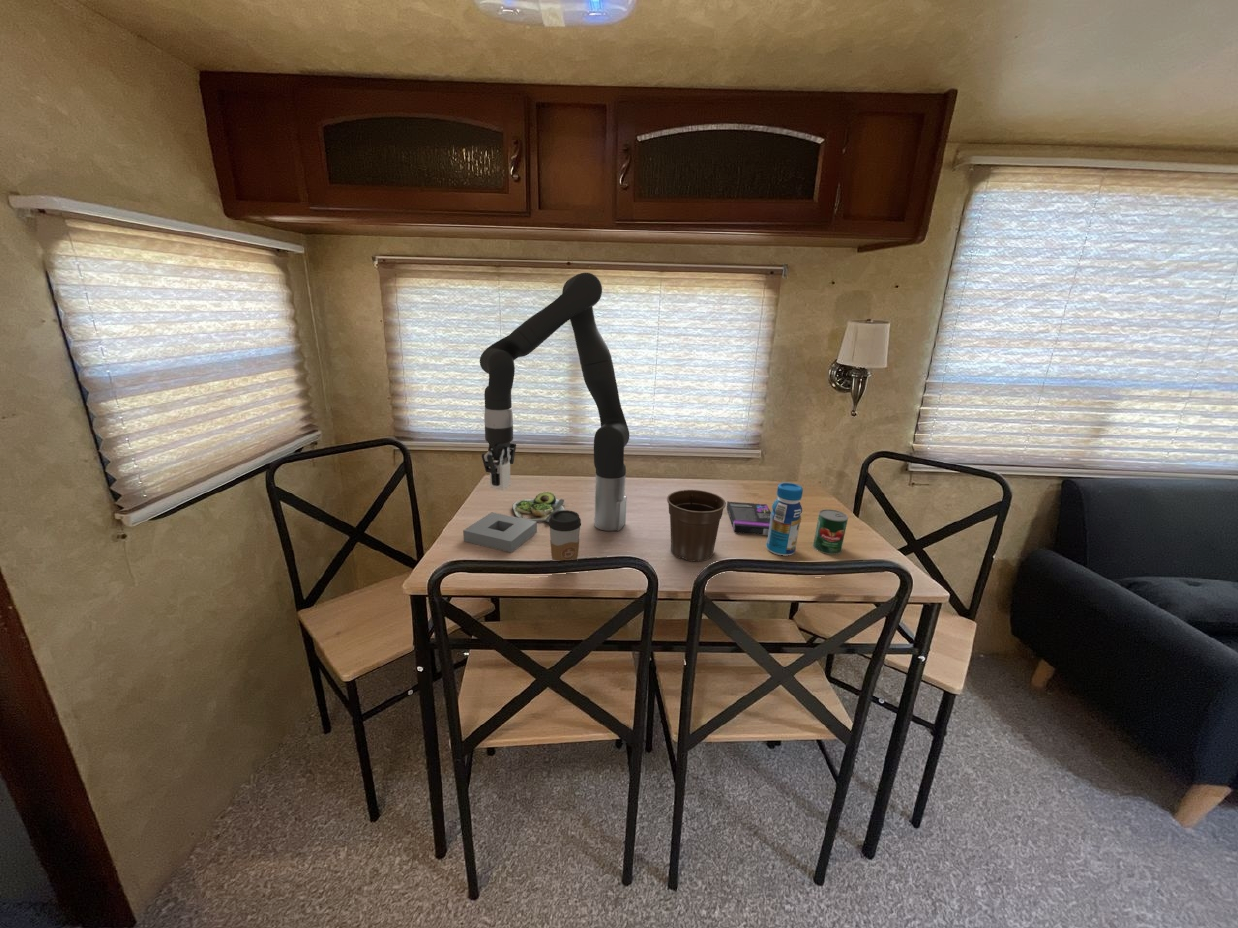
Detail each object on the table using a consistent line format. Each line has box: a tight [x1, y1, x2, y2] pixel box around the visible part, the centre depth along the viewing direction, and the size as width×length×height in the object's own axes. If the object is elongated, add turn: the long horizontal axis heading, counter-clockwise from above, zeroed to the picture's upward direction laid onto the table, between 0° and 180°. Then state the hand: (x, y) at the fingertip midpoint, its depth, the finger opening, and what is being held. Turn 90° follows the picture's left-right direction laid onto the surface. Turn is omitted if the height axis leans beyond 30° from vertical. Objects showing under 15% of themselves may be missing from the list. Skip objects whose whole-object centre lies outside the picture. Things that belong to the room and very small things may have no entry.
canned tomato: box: [812, 508, 849, 555], centre depth 142 cm, size 8×8×11 cm
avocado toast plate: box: [512, 491, 565, 523], centre depth 159 cm, size 19×18×5 cm
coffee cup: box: [548, 509, 582, 561], centre depth 126 cm, size 8×8×15 cm
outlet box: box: [462, 511, 538, 553], centre depth 143 cm, size 16×14×4 cm
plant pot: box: [666, 489, 727, 562], centre depth 136 cm, size 16×16×16 cm
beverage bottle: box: [765, 482, 804, 557], centre depth 139 cm, size 8×8×20 cm
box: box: [726, 501, 772, 536], centre depth 160 cm, size 14×4×20 cm
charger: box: [489, 460, 511, 491], centre depth 136 cm, size 4×4×7 cm
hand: (500, 482), depth 137 cm, fingers closed on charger, 4 cm apart
